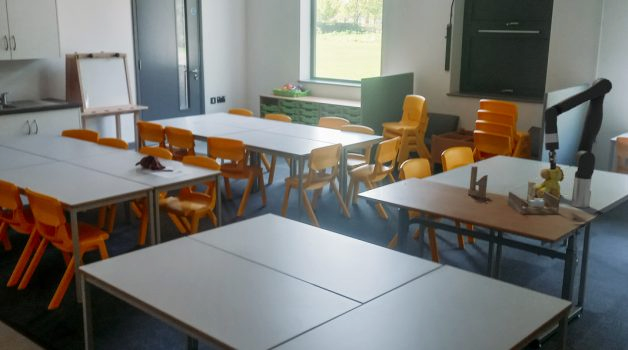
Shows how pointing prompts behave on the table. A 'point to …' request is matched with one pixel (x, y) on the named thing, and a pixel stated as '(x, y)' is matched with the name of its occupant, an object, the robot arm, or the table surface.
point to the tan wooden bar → (531, 190)
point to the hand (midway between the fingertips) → (553, 169)
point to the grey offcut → (536, 203)
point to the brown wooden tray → (522, 207)
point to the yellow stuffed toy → (550, 182)
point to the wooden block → (481, 183)
